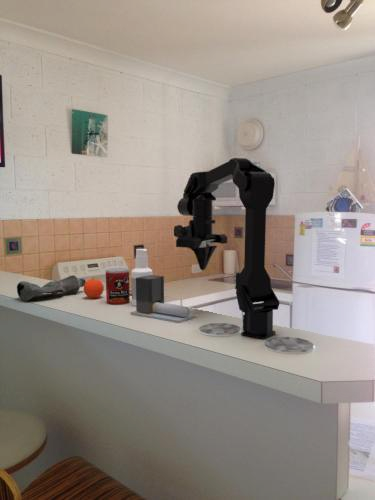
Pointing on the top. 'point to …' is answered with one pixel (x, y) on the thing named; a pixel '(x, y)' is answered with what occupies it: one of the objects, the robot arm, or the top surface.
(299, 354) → the top surface
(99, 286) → the clementine
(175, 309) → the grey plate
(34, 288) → the crushed bottle
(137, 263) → the spray bottle
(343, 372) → the top surface
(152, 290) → the sleeve
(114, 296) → the canned food
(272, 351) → the top surface
